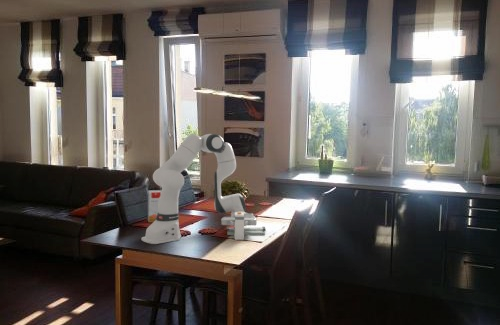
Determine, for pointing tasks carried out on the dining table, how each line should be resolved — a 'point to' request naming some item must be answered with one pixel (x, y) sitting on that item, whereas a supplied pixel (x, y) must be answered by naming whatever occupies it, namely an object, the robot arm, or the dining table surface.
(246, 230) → the rail
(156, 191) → the hard drive box
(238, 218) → the block
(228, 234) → the mounting board
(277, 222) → the dining table surface
